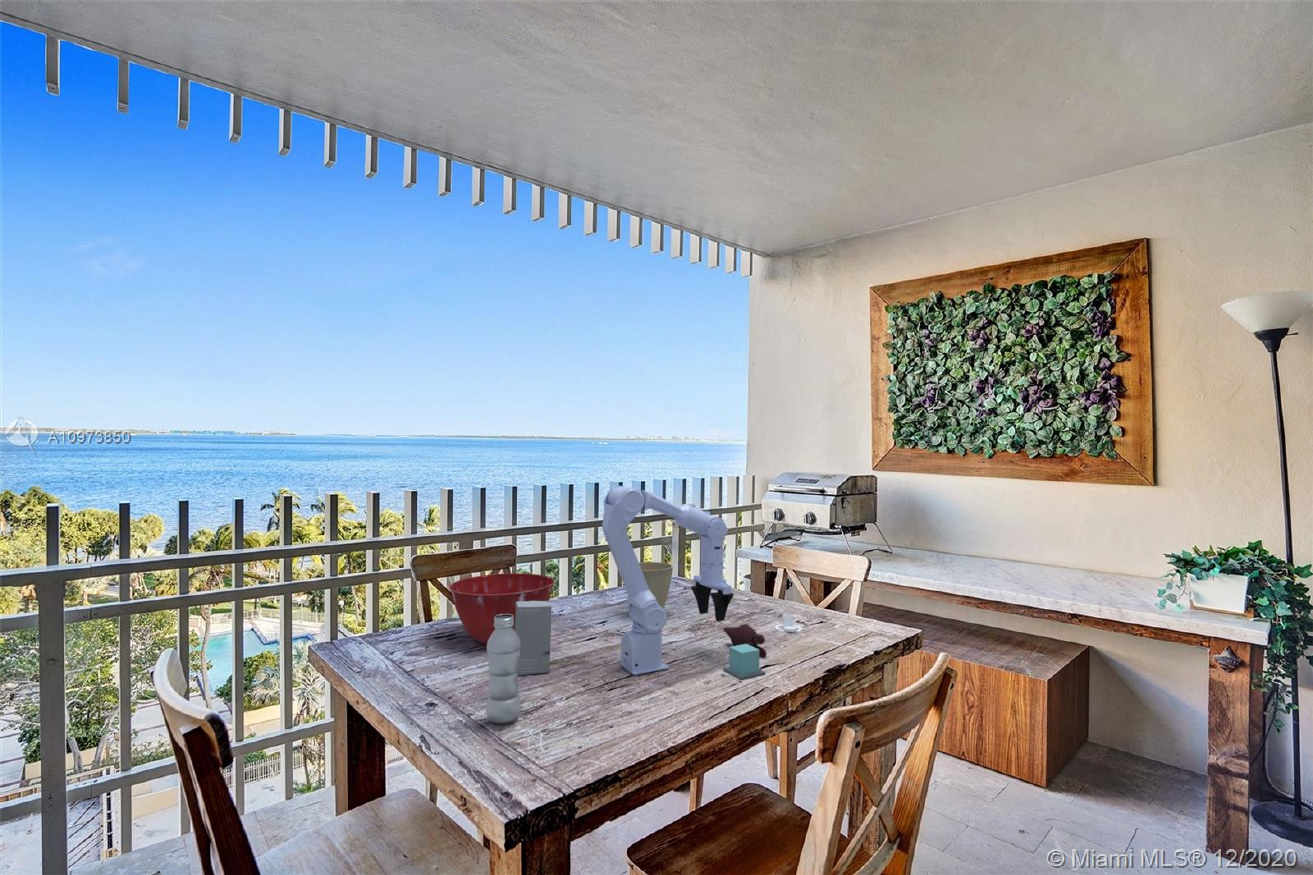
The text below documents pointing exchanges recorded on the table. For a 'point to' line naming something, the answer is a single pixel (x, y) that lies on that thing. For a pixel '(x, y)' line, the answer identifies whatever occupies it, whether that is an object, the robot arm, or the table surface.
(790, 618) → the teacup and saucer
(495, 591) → the mixing bowl
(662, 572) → the plant pot
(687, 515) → the robot arm
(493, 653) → the plastic bottle
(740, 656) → the teal cube
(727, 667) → the slate coaster
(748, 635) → the dark brown lumpy figure
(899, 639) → the table surface
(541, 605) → the skincare box
